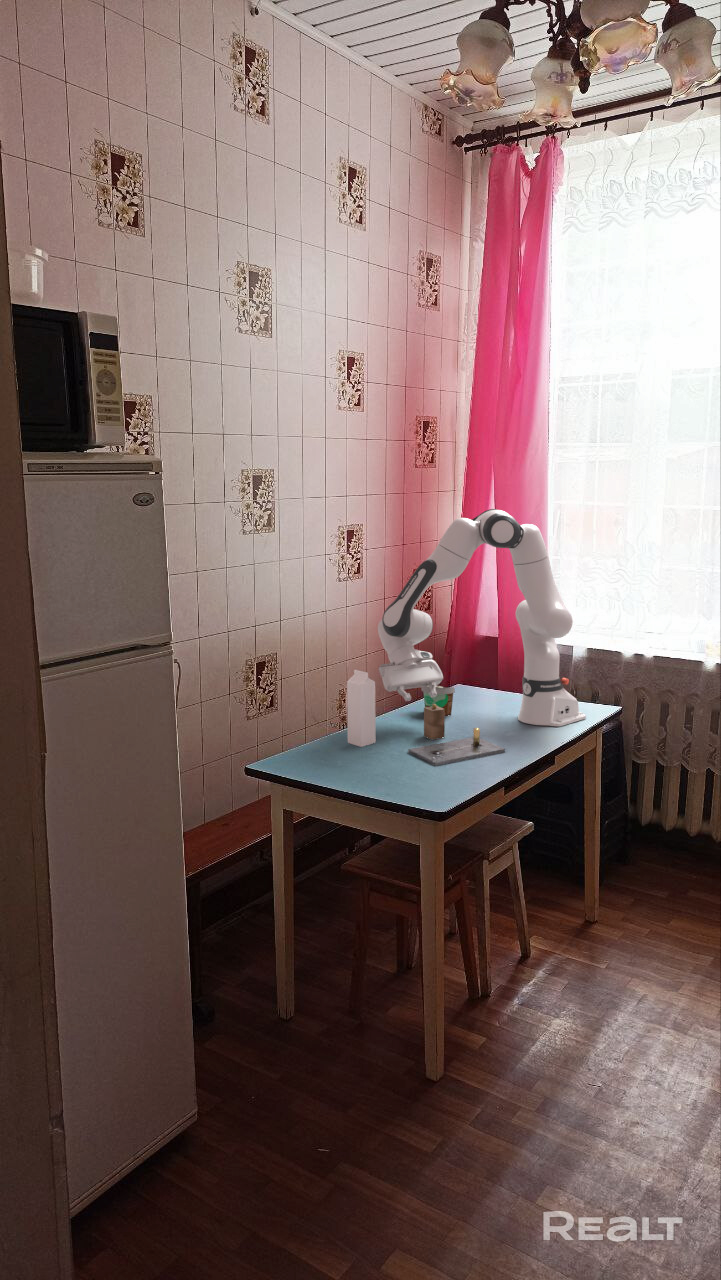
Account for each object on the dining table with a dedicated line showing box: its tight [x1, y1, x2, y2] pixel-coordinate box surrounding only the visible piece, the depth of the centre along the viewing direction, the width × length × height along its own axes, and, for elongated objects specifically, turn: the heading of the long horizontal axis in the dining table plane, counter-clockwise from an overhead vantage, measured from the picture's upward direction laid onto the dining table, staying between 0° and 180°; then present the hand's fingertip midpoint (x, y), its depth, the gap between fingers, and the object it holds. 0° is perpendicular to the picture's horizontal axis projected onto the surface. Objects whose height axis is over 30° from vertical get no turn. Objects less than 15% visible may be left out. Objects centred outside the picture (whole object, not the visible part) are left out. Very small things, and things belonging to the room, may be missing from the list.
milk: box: [346, 669, 377, 748], centre depth 265 cm, size 6×6×22 cm
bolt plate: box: [407, 727, 506, 767], centre depth 257 cm, size 24×14×6 cm, turn 119°
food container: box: [421, 684, 456, 717], centre depth 297 cm, size 12×6×10 cm, turn 49°
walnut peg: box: [423, 704, 446, 740], centre depth 272 cm, size 4×4×10 cm
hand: (421, 698), depth 277 cm, fingers open, 8 cm apart
